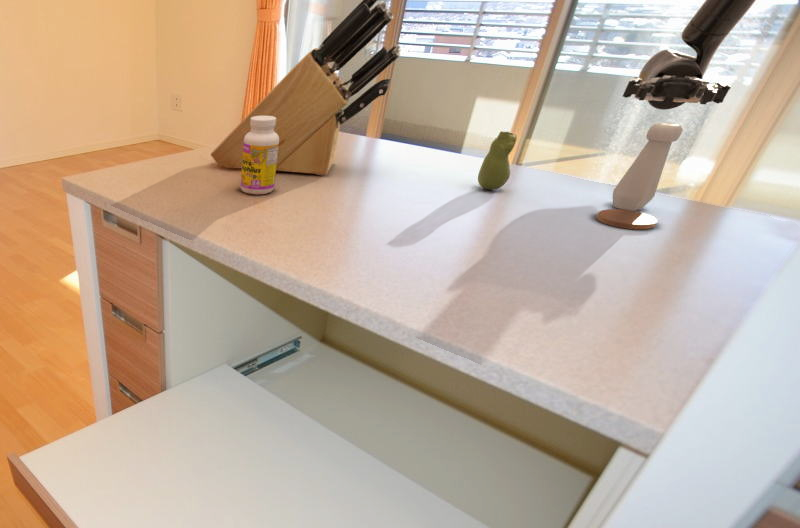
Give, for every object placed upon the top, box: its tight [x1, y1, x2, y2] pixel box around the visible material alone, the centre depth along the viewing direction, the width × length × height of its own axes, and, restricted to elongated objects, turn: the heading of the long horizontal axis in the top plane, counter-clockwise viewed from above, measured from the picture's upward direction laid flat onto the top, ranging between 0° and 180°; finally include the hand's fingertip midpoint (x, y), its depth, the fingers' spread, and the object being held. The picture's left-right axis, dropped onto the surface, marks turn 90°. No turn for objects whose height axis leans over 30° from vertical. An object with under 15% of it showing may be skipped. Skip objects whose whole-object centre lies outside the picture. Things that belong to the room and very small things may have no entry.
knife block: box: [210, 0, 402, 176], centre depth 111 cm, size 11×35×31 cm, turn 69°
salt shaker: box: [612, 122, 684, 212], centre depth 90 cm, size 6×6×13 cm
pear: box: [477, 130, 517, 191], centre depth 102 cm, size 6×5×10 cm
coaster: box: [595, 208, 658, 231], centre depth 89 cm, size 8×8×1 cm
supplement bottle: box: [239, 116, 279, 196], centre depth 103 cm, size 7×7×13 cm
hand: (675, 95), depth 92 cm, fingers open, 8 cm apart
